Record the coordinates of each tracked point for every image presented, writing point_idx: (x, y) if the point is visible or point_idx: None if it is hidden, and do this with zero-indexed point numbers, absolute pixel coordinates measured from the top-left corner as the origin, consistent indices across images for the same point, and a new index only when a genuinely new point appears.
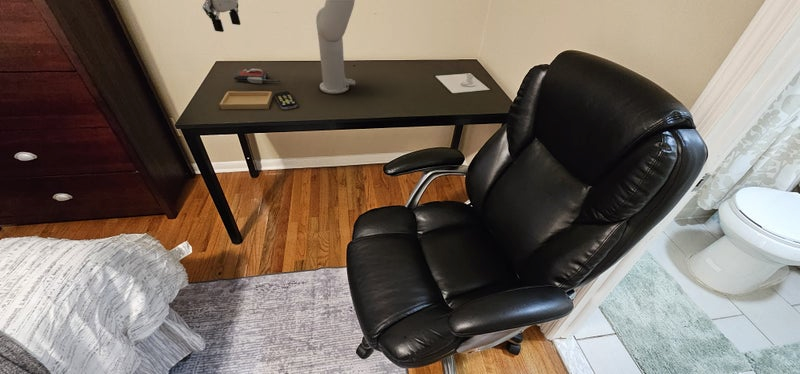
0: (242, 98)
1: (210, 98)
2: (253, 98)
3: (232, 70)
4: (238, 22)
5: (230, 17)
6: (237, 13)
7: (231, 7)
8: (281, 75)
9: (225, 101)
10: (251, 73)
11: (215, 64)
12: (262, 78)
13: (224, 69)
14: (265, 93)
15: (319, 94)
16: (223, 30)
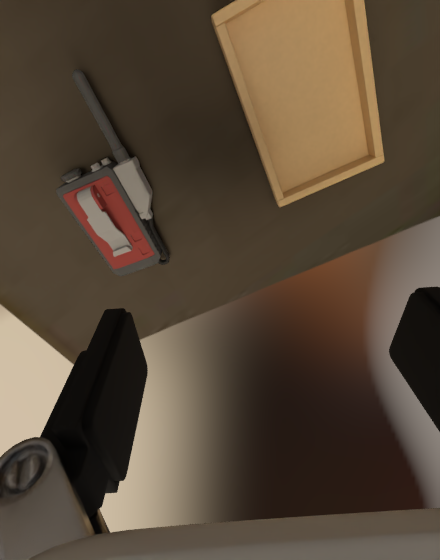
0: (286, 137)
1: (305, 241)
2: (273, 90)
3: None
4: (125, 327)
5: (136, 425)
6: (66, 421)
7: None
8: (9, 134)
9: (338, 170)
10: (119, 221)
11: None
12: (112, 167)
13: None
14: (232, 47)
15: None
16: (431, 290)
